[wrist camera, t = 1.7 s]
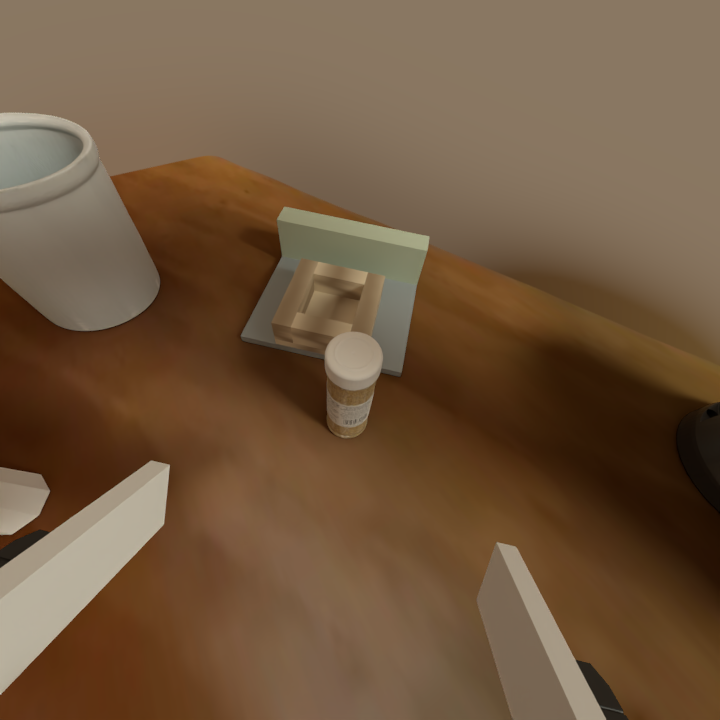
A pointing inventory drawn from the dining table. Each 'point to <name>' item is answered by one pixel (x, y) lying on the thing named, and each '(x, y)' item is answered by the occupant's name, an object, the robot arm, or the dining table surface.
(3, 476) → the pepper shaker
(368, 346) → the sprinkles bottle
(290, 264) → the backstop board
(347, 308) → the socket block
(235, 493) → the dining table surface
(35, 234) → the utensil holder
